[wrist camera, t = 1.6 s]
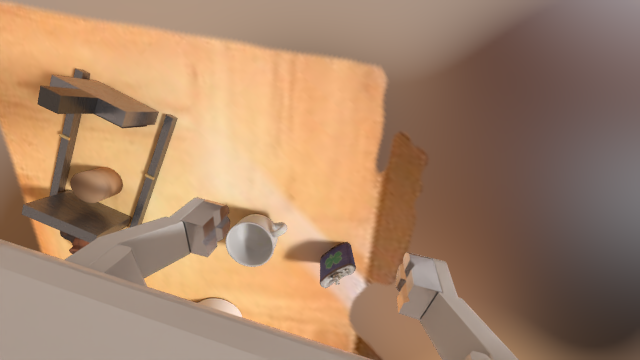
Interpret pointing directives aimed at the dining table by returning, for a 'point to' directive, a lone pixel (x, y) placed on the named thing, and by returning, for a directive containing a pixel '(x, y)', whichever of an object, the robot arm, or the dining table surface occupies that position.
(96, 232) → the press frame
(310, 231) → the dining table surface
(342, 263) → the flask
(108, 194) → the brown short cylinder
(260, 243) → the teacup
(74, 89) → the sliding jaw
